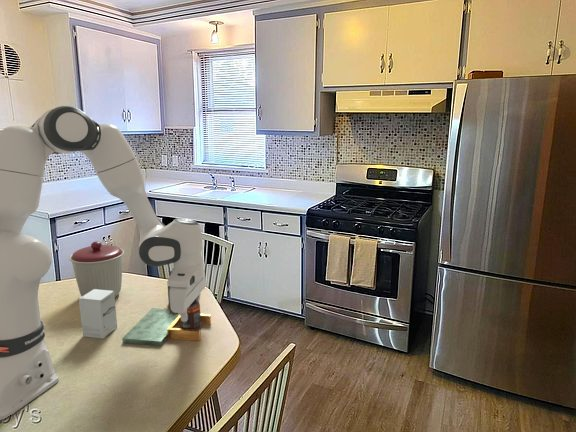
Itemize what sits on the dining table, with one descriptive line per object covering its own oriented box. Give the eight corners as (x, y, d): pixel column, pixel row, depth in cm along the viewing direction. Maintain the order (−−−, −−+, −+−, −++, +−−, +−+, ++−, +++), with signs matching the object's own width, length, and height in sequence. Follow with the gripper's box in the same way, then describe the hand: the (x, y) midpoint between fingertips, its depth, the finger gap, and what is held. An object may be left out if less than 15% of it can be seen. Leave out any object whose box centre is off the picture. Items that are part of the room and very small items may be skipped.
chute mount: (194, 348, 122) (194, 339, 121) (122, 342, 124) (121, 333, 124) (215, 316, 141) (214, 308, 140) (152, 311, 144) (152, 303, 143)
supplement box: (104, 339, 126) (99, 300, 123) (82, 336, 128) (77, 298, 125) (118, 327, 133) (114, 290, 130) (97, 324, 135) (93, 288, 132)
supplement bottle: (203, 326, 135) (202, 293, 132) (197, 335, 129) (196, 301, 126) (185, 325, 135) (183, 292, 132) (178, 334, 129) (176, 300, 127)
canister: (62, 303, 149) (55, 246, 144) (98, 284, 166) (93, 232, 161) (105, 310, 144) (99, 252, 139) (137, 289, 161) (133, 237, 156)
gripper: (191, 259, 137) (192, 298, 141) (164, 283, 118) (167, 328, 121) (209, 260, 136) (211, 299, 140) (186, 284, 117) (188, 330, 120)
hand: (190, 313), depth 130 cm, fingers open, 8 cm apart
